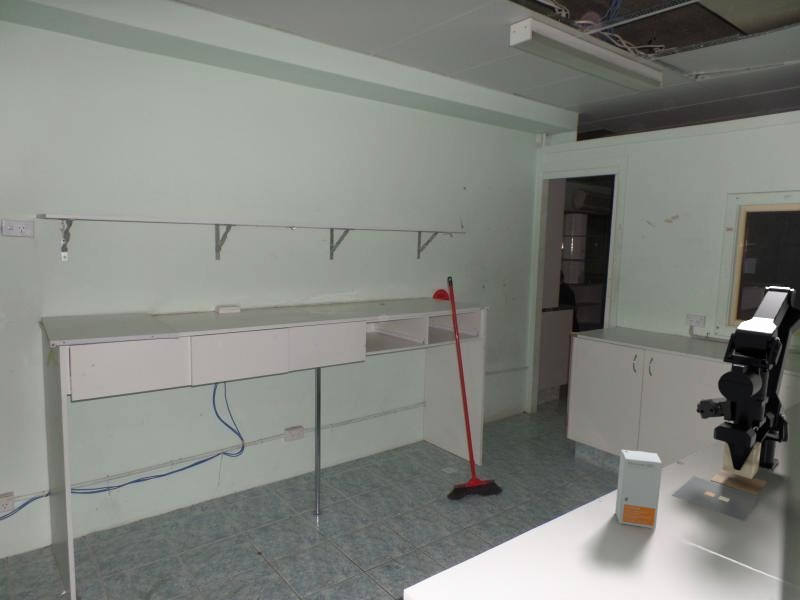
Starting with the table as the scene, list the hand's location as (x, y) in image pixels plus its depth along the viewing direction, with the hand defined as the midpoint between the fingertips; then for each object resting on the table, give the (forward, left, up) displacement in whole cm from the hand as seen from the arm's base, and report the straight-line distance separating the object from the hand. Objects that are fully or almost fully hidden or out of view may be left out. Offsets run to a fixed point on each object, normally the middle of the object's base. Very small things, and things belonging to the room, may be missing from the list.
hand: (740, 465), depth 107 cm
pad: (0, 0, -4) cm, 4 cm away
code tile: (+11, -1, -4) cm, 11 cm away
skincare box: (+31, -8, -4) cm, 32 cm away
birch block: (0, 0, -1) cm, 1 cm away
